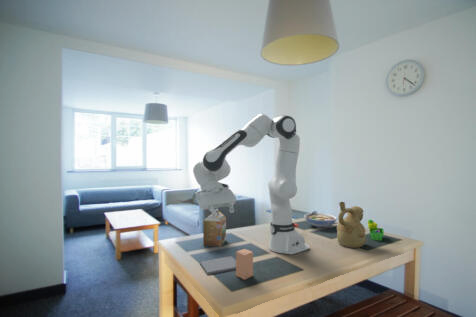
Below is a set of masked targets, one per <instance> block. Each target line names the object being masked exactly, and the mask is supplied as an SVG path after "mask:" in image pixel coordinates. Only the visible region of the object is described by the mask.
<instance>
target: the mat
mask: <svg viewBox="0 0 476 317" xmlns="http://www.w3.org/2000/svg"><path fill="white" fill-rule="evenodd" d="M199 265H200V266H201V268H202V269H203V271H204V272H205V274H206V275H207V276H208V275H213V274H218V273H223V272H228V271H234V270H236V258H234V257H233V256H232V255H230V256H225V257H219V258H218V257H217V258H215V259H214V258H213V259H208V260H201V261H199Z"/></svg>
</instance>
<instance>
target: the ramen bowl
mask: <svg viewBox="0 0 476 317" xmlns="http://www.w3.org/2000/svg"><path fill="white" fill-rule="evenodd" d="M303 217H304V218H305V220H306V221H307V222H308V223H309V224H310V225H311V226H314V227H316V228H318V229H325V228H327V227H330V226H332V225H335V223H336V222H337V219H338V216H336V215H332V214H329V213H322V212H321V213H319V212H318V210H317V211H315V210H314V211H312V212H310V213H305V214H304V215H303Z"/></svg>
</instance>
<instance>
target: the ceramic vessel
mask: <svg viewBox="0 0 476 317" xmlns="http://www.w3.org/2000/svg"><path fill="white" fill-rule="evenodd" d="M338 205H339V209H340V210H339V213H338V216H337V219H338V223H337V225H336V231H337V232H336V237H337V242H338V244H339V245H341V246H343V247H345V248H351V249H356V248H357V249H358V248H361V247H363V246H364V245H365V244H366V242H367V237H366V228H365V226H364V225H363V224H362V220H363V218H364V209H363V208H362V207H361V206H358V205H357V206H356V205H354V206H352V207H347V208H346V202H345V201H339V202H338ZM345 214H347V215H346V216H345ZM344 216H345V218H344Z"/></svg>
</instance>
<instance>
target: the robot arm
mask: <svg viewBox="0 0 476 317" xmlns="http://www.w3.org/2000/svg"><path fill="white" fill-rule="evenodd" d="M265 136H267V137H270V138H273V139H274V138H275V139H277V138H278V140H279V147H278V151H277V155H276V156H277V157H276V160H275V161H276V162H275V169H276V172H275V176H274V177H272V178H271V179H269V181H268V182H267V183H268V184H267V187H268V191H269V192H268V193H269V200H270V207H271V212H270V213H271V214H270V215H271V216H270V217H271V218H270V220H271V222H270V239H269V243H268V247H267V248H268V249H269V251H271V252H273V253H276V254H277V253H279V254H286V255H294V254H297V253H301V252H304V251H307V250H310V246H309V244H307V243H305V242H306V239H305V237H304V236H303V235H302V234H301V233H300V232H298V231H297V230H296V229H295V228H299V224H298V223H294V222H293V209H292V206H291V202H290V200H291V199H293V198H294V197H295V196H296V195H297V193H298V186H297V176H296V175H297V174H296V173H297V164H298V159H299V154H300V144H301V143H300V136H299V135H298V134H297V123H296V120H295V119H294V118H293V117H292V116H290V115H281V116H275V117H274V118H270V117H269V116H268V115H266V114H264V113H260V114H258V115H257V116H254V117H253V118H252V119H251V120H250V121H249V122H248V123H247V124H245V126H244V127H242V128H241V129H238V130H236V131H235V132H233V133H232V134H230V135H229V136H228V137H227V138H225V139H224V140H223V141H221V143H219V144H218V145H217V146H215V147H214V148H212V149H210V150H208V151H206V153H205V154H204V156H203V157H202V160H201V161H198V162H196V164H195V165H194V166H193V168H192V172H193V176H194V179H195V181H196V182H197V184H198V185H199V187H200V190H197V191H196V192H195V194H194V195H195V197H196V201H197V204H198V206H199V208H200V209H201V210H202V211H204V210H208V212H209V211H210V212H211V214H212V213H213V214H214V216H218V214H219V213H218V211H219V210H218V211H216V209H218V208H222V207H223V208H224V207H228V208H229V209H228V212H229V213H230V214H232V213H234V212H235V209H234V205H235V204H236V202H237V197H236V195H235V193H234V192H233V191H232V190H231V189H230V186H229V184H226V183H223V182H220V181H221V180H224V179H225V178H228V176H229V175H230V173H231V166H230V164H229V162H228V161H227V159H226V158H227V155H229V154H230V153H231V152H233V150H235V149H236V148H237V147H239V146H244V147H246V148H253V147H255V146H256V145H258V144H259V143H260V142H261V141H262V140H263V139H264V137H265Z"/></svg>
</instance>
